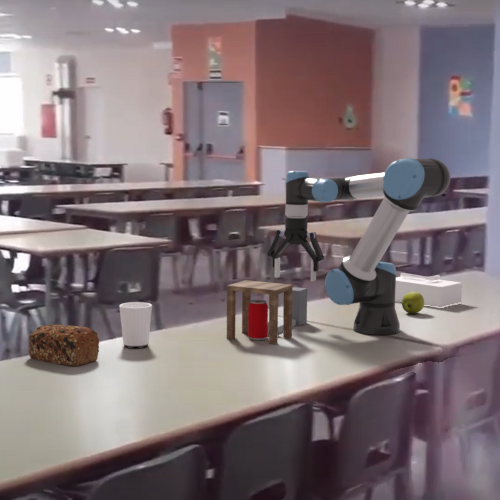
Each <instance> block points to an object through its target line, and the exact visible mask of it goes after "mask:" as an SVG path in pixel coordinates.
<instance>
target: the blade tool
mask: <svg viewBox="0 0 500 500" xmlns="http://www.w3.org/2000/svg"><path fill="white" fill-rule="evenodd" d="M282 309H283V313H282V314H283V315H282V316H283V317H282V318H283V319H282V320H280V321H278V334H279V333H282V332H283V323H284V304H283V307H282ZM307 319H308V288H305V287H298V286H297V287H296V286H295V287H293V286H292V328H293V327H301V326H303V325H305V324H307V322H308V320H307ZM281 331H282V332H281ZM268 336H269V321H268Z"/></svg>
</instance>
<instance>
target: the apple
mask: <svg viewBox="0 0 500 500" xmlns="http://www.w3.org/2000/svg"><path fill="white" fill-rule="evenodd" d="M401 307H402V309H403V310H404V312H406V313H407V314H411V313H415V314H418V313H419V312H421V311H422V310H423V309H424V298H423V296H422V295H421V294H420V293H418V292H409V293H407V294H406V295H405V296H404V297H403V299H402V303H401Z"/></svg>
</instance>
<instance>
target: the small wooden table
mask: <svg viewBox="0 0 500 500" xmlns="http://www.w3.org/2000/svg"><path fill="white" fill-rule="evenodd" d="M292 287H293V284H287V283H280V282H279V283H278V282H277V283H275V282H268V281H267V282H266V281H255V280H246V279H245V280H242V281H237V282H235V283H231V284H228V285H226V339H229V340H234V339H236V303H237V302H236V300H237V299H236V295H237V294H236V292H240V293H241V300H242V301H241V309H242V310H241V333H242V334H248V305H249V303H250V301H251V300H252V298H251V297H252V296H251V295H252V294H260V295H268V297H269V299H268V300H269V301H268V304H269V305H268V322H269V335H268V345H274V346H275V345H277V344H278V341H279V339H278V335H279V333H278V322H279V319H278V318H279V295H280V294H283V305H284V323H283V331H282V332H283V335H282V336H283V339H288V338H289V339H292V338H291V337H293V334H292V333H293V327H292Z"/></svg>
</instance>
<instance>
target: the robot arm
mask: <svg viewBox="0 0 500 500" xmlns="http://www.w3.org/2000/svg"><path fill="white" fill-rule="evenodd" d="M309 175H310V173H309V172H308V171H307V170H289V171H287V172H286V177H285V178H286V179H285V211H284V214H285V216H286V217H285V218H284V228H285V230H283V229H282V228H281V229H277V230H276V233H275V237H274V239H273V241H272V244H271V246H270V248H269V249H268V252H267V256H268V257H271V258H272V264H271V265H272V268H274V275H273V276H274V279H275V278H277V279H278V278H280V277H281V257H280V255H281V254H282V253H283V251H284V250H285V249H286V248H287V247H288V246H289V245H297V246H298V245H299V246H301V247H303V249H304V250H305V251H306V253H307V254H308V256H309V257H310V259H311V260H312V261H311V262H310V282H316V281H317V272H319V269H320V268H319V267H320V266H319V265H320V264H319V263H320V261H323V260H325V256H324V253H323V251H322V249H321V246H320V243H319V242H318V239H317V233H316V232H315V231H312V232H308V217H307V216H308V215H309V214H308V212H309V211H308V209H309V207H308V206H309V201H312V202H319V203H331V202H333V201H351V200H356V199H364V198H373V197H374V198H375V197H383V199H382V201H381V202H380V204H379V206H378V208H377V210H376V212H375V213H374V214H373V217H372V218H371V220H370V222H369V224H368V225H367V227H366V229H365V231H364V232H363V234H362V236H361V238H360V239H359V241H358V242H357V244H356V246H355V248H354V249H353V251H352V253H351V255H346V256H345V257H343V259H342V261H341V263H340V264H339V266H338V267H337V268H333V269H331V270H329V271H328V272H327V273H326V276H325V279H324V287H325V292H326V294H327V296H328V298H329V299H330V301H331V302H333V303H334V304H335V305H338V306H350V305H353V304H358V303H359V306H358V310H357V312H356V316H355V318H354V321H353V331H355V332H356V333H359V334H364V335H365V334H367V335H375V336H376V335H378V336H380V335H383V336H384V335H386V334H387V335H393V334H392V333H395V334H397V333H396V332H398V331H399V330H400V327H401V326H400V321H399V317H398V314H397V312H396V311H397V310H396V302H395V289H396V277H397V268H396V265H395V264H394V263H392V262H386V261H381V259H382V258H383V257H384V254H385V253H386V251H387V249H388V248H389V246H390V245H391V244H392V243H391V242H393V240H394V238H395V237H396V234H397V232H398V231H399V229H400V228H401V227H402V225H403V223H404V222H405V219H406V218H407V216H408V214H409V213H411V212H416V210H417V209H418V208H419V206H420V205H421V204H422V201H423V199H425V198H435V197H437V196H440V195H441V194H443V193H445V191H446V190H447V189H448V187H449V185H450V183H451V173H450V169H449V168H448V166H447V164H445V163H444V162H443V161H441V160H439V159H437V158H413V157H412V158H411V157H407V158H401V159H397V160H395V161H393V162H391V163H390V164H389V165H388V166H387V168H386V169H385V171H384V172H377V173H375V172H374V173H368V174H359V175H355V176H353V175H351V176H347V177H346V176H344V177H322V178H320V177H319V178H317V177H310V176H309ZM283 236H285V239H284V240H283V242H282V243H281V244H280V242H281V241H282V238H283ZM307 238H309V240H310V242H309V241H308V239H307ZM310 243H311V245H312V246H311V245H310ZM279 244H280V245H279ZM278 246H279V247H278ZM399 332H400V331H399ZM399 332H398V333H399ZM387 335H386V336H387Z"/></svg>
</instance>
